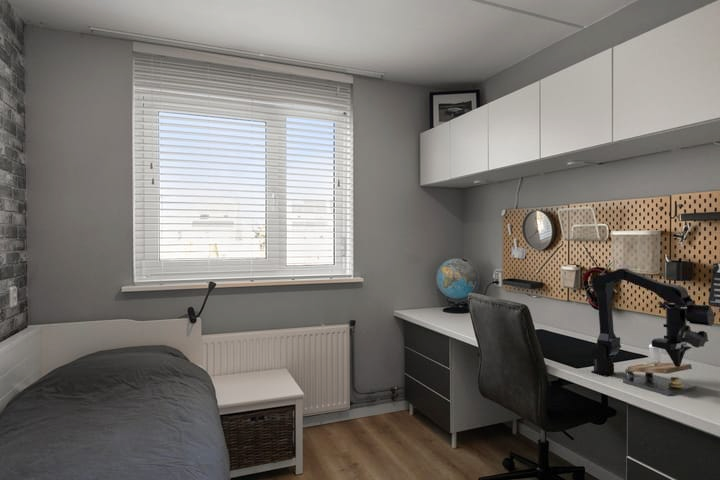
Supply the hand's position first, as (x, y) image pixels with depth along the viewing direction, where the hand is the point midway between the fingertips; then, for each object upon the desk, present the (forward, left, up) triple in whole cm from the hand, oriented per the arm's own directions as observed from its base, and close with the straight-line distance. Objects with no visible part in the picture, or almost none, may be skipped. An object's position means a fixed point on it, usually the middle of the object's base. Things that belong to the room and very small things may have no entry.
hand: (677, 366), depth 151 cm
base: (-7, 0, -9) cm, 11 cm away
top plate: (-7, 0, -4) cm, 8 cm away
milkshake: (-24, +26, -9) cm, 36 cm away
